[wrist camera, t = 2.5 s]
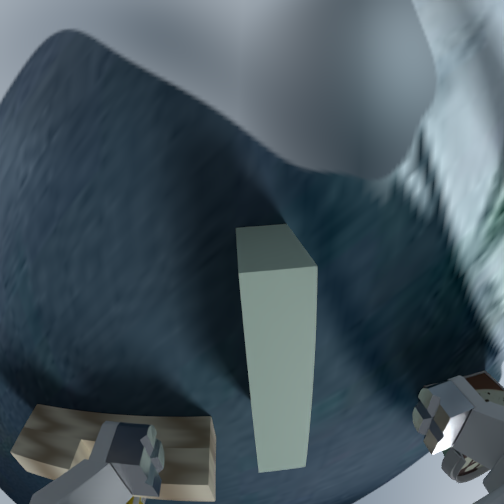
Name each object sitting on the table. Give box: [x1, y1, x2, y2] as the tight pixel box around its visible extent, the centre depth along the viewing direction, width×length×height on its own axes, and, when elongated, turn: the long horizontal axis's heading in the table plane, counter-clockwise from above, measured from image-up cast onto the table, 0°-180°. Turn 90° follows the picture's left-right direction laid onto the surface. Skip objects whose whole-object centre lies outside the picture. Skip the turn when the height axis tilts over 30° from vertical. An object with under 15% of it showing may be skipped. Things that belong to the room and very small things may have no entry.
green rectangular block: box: [236, 224, 317, 472], centre depth 17 cm, size 14×3×7 cm, turn 4°
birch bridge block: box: [10, 404, 216, 501], centre depth 20 cm, size 18×3×7 cm, turn 94°
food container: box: [423, 370, 504, 483], centre depth 21 cm, size 12×6×10 cm, turn 87°
